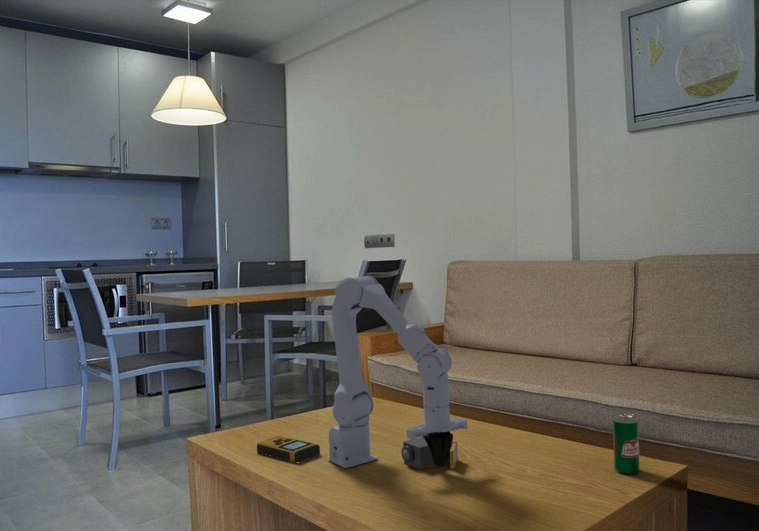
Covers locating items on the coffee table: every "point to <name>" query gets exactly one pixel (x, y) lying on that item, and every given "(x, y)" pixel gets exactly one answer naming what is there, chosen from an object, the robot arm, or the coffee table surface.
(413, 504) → the coffee table surface
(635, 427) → the soda can
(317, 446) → the electronic device
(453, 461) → the side door
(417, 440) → the camera body
